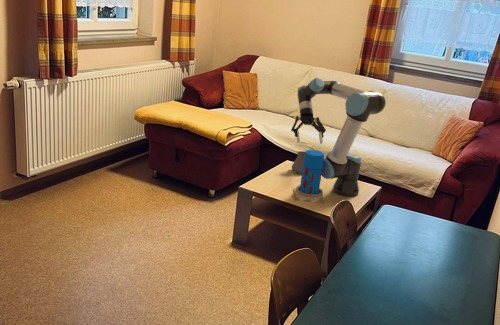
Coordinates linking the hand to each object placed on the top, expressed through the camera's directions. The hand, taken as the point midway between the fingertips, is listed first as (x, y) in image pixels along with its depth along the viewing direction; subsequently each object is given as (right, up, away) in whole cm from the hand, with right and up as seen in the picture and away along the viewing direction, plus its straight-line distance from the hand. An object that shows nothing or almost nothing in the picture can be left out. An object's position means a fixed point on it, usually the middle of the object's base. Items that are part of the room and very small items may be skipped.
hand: (310, 142), depth 277 cm
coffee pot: (-2, -19, +32) cm, 38 cm away
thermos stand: (-1, -30, -1) cm, 30 cm away
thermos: (-1, -30, -1) cm, 30 cm away
